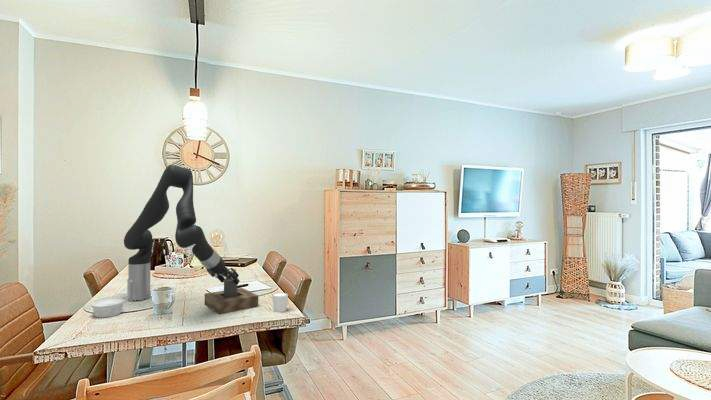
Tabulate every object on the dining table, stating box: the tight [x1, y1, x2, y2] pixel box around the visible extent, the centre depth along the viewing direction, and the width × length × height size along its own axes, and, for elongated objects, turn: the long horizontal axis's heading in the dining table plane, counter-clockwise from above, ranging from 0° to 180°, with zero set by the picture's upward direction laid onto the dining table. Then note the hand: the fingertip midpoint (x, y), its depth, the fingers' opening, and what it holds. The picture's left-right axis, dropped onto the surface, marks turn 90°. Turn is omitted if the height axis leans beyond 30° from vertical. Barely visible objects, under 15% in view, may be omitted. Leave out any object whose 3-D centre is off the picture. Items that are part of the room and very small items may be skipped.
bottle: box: [223, 268, 238, 298], centre depth 171 cm, size 6×6×15 cm
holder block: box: [203, 287, 259, 315], centre depth 171 cm, size 18×18×5 cm
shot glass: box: [272, 292, 289, 313], centre depth 165 cm, size 7×7×7 cm
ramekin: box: [91, 298, 125, 319], centre depth 157 cm, size 11×11×5 cm
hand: (230, 281), depth 171 cm, fingers open, 8 cm apart
